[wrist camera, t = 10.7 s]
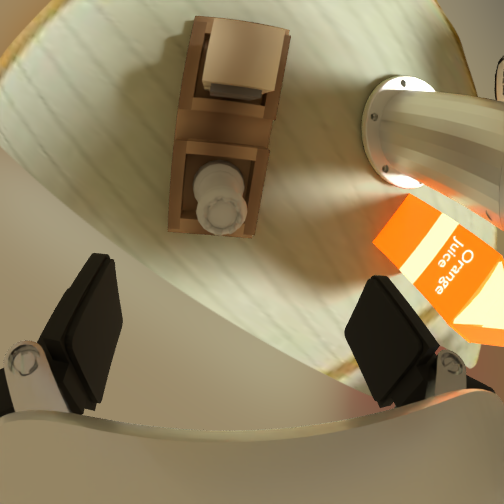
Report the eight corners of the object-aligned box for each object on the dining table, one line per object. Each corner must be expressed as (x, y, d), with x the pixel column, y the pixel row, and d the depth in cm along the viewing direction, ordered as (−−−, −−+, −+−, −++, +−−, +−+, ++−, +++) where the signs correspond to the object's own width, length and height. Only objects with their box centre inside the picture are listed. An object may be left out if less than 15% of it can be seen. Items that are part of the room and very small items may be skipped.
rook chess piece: (230, 214, 25) (239, 259, 18) (185, 196, 24) (175, 235, 17) (252, 171, 24) (271, 199, 17) (205, 150, 22) (203, 170, 15)
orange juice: (406, 272, 34) (494, 378, 16) (371, 242, 30) (481, 371, 13) (439, 228, 31) (543, 319, 14) (409, 191, 28) (545, 289, 10)
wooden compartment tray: (286, 32, 18) (324, 0, 11) (250, 233, 28) (267, 287, 20) (195, 19, 17) (189, -24, 9) (169, 227, 26) (154, 281, 18)
